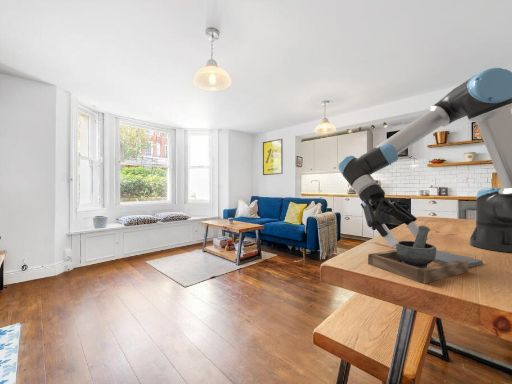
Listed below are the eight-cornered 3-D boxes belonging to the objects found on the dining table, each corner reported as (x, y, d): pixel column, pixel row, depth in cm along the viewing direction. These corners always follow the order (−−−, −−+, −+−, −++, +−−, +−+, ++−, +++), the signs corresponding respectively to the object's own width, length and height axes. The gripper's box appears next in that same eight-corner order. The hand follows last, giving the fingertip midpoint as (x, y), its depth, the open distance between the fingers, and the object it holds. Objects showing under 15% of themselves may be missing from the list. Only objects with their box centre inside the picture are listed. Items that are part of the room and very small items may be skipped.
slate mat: (432, 252, 87) (433, 249, 87) (482, 263, 74) (482, 260, 74) (411, 255, 82) (412, 253, 82) (461, 269, 69) (461, 265, 69)
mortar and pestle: (423, 276, 63) (424, 231, 62) (388, 266, 71) (389, 225, 71) (443, 269, 68) (444, 227, 68) (409, 260, 77) (410, 223, 76)
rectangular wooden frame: (410, 256, 81) (410, 247, 81) (467, 271, 67) (468, 261, 67) (368, 263, 73) (368, 254, 73) (423, 283, 58) (424, 271, 58)
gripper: (385, 197, 91) (426, 246, 78) (335, 198, 81) (372, 254, 68) (399, 183, 86) (445, 232, 73) (347, 182, 76) (390, 239, 63)
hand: (410, 243), depth 70 cm, fingers open, 13 cm apart
